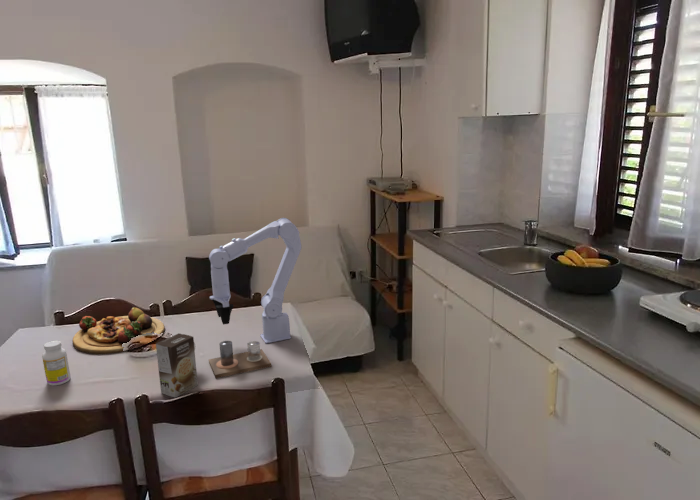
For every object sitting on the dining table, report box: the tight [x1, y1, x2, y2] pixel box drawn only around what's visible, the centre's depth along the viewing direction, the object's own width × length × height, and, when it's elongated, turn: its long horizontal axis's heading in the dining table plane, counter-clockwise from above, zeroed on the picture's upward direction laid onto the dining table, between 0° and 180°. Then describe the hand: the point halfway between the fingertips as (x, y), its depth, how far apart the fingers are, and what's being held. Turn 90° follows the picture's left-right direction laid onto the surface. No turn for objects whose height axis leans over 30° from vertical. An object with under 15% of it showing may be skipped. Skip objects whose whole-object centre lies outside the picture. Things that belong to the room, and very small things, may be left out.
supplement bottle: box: [41, 340, 71, 387], centre depth 170 cm, size 7×7×13 cm
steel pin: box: [219, 340, 234, 366], centre depth 177 cm, size 4×4×7 cm
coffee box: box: [155, 333, 199, 398], centre depth 163 cm, size 9×6×16 cm
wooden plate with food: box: [72, 307, 166, 355], centre depth 205 cm, size 32×32×8 cm
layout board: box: [208, 340, 272, 379], centre depth 179 cm, size 18×12×6 cm, turn 114°
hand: (223, 320), depth 193 cm, fingers open, 7 cm apart
